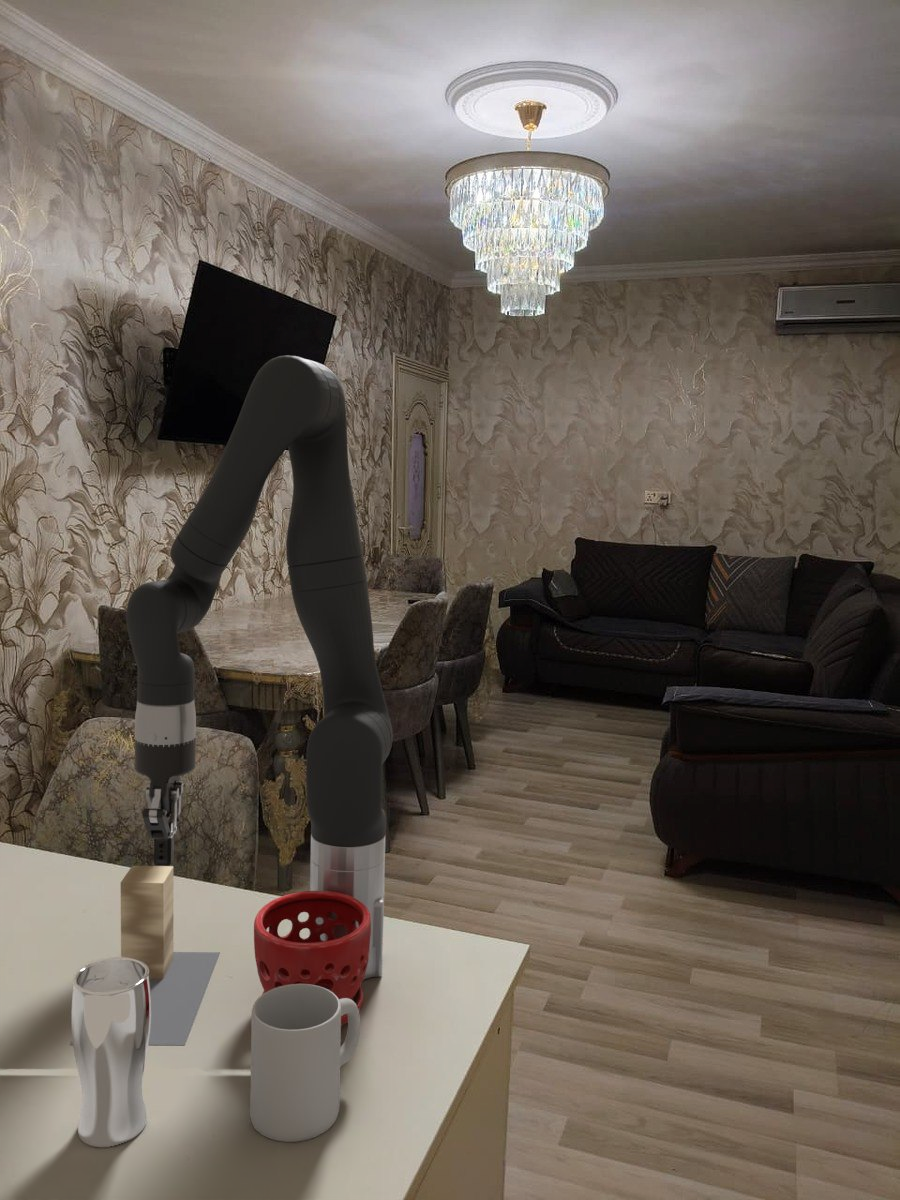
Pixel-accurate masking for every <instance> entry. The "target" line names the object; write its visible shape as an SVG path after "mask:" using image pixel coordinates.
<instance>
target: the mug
mask: <svg viewBox="0 0 900 1200" xmlns="http://www.w3.org/2000/svg"><path fill="white" fill-rule="evenodd" d="M262 994H263V993H262ZM262 994H260V996H259V997H258V998H257V999H256V1000H255V1001H254V1003H253V1006H252V1008H251V1032H250V1033H251V1034H250V1035H251V1037H250V1038H251V1041H250V1042H251V1044H250V1046H251V1047H250V1049H251V1051H250V1054H251V1055H250V1093H249V1094H250V1096H249V1097H250V1098H249V1099H250V1100H249V1116H250V1121H251V1124H252V1126H253V1127H254V1129H255V1130H256V1131H257V1133H259V1134H261V1135H262V1136H263V1137H265V1138H267V1139H270V1140H273V1141H276V1142H283V1143H297V1142H303V1141H308V1140H312V1139H314V1138H316V1137H319V1136H321V1135H322V1134H324V1133H325V1132H327V1131H329V1129H330V1128H331V1127H332V1126H333V1125H334V1123H335V1122H336V1120H337V1118H338V1116H339V1112H340V1102H341V1101H340V1099H341V1097H340V1095H341V1093H340V1089H341V1087H340V1079H341V1078H340V1077H341V1076H340V1075H341V1069H340V1068H341V1067H342V1066H344V1065H345V1064H347V1062H349V1061H350V1060H351V1059H352V1057H353V1056H354V1055H355V1053H356V1051H357V1047H358V1044H359V1039H360V1034H361V1033H360V1030H361V1017H360V1010H358V1008H357V1005H356V1003H355V1002H354V1001H353V1000H351V999H348V998H342V999H338V997H337V996H336V995H335V994H334V993H333V992H331V991H330V990H328V989H326V988H323V987H320V986H316V985H311V984H291V985H285V986H280V987H277V988H274V989H272V990H269V991H267V992H266V993H264V994H263V995H262ZM344 1014H347V1016H348V1022H347V1030H346V1031H347V1032H346V1036H345V1039H344V1042H343V1044H342V1045H341V1039H342V1037H341V1035H342V1033H341V1031H342V1026H341V1016H343V1015H344Z"/></svg>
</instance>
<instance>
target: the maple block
mask: <svg viewBox="0 0 900 1200" xmlns="http://www.w3.org/2000/svg"><path fill="white" fill-rule="evenodd" d="M173 952H174V866H173V865H169V866H157V865H131V867H130V868H129V870H128V871H127V872H126V874H125V876H124V877H123V878H122V880H121V881H120V957H127V958H133V959H137V960H140V961H142V962H144V963H145V964H146V965H147V967H148V969H149V979H164V977H165V975H166V973H167V970H168V968H169V966H170V964H171V962H172V960H173Z"/></svg>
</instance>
